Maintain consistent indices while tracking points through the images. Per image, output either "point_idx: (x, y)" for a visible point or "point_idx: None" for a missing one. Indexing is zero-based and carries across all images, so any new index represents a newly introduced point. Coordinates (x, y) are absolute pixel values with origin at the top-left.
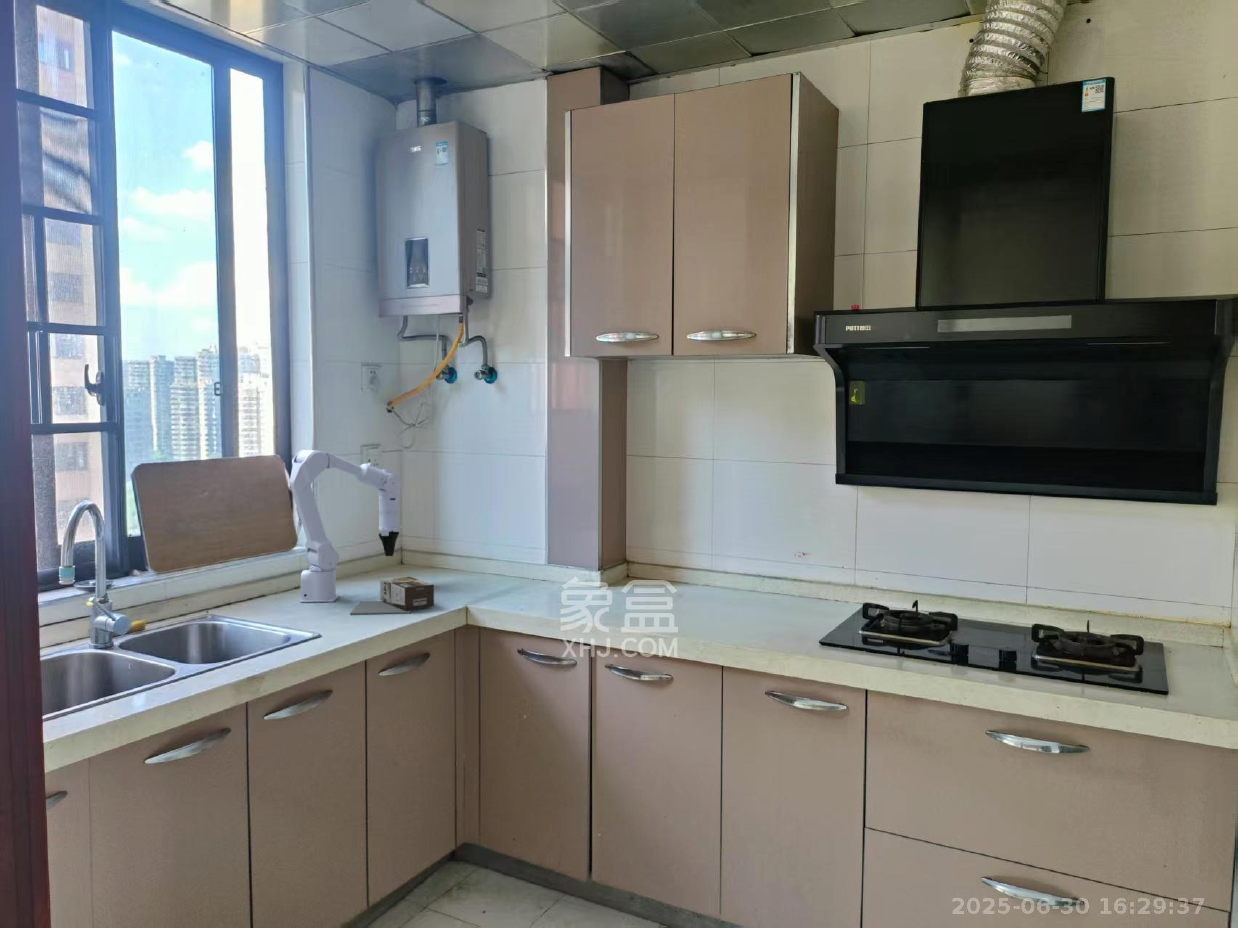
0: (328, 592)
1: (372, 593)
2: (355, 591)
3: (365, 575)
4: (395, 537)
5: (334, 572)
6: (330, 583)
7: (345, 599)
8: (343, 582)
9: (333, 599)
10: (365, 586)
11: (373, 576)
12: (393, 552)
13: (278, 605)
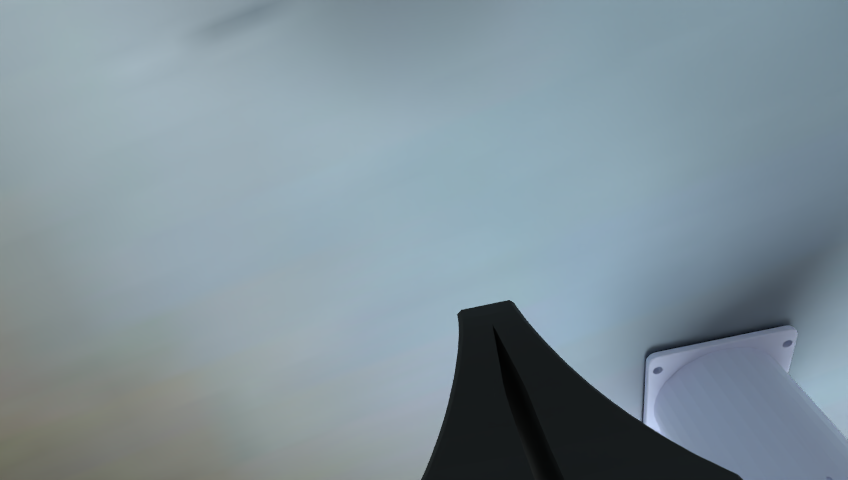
0: (797, 384)
1: (580, 223)
2: None
3: (50, 457)
4: (724, 472)
5: (837, 471)
6: (824, 419)
7: (731, 297)
8: (285, 469)
9: (781, 335)
10: (370, 338)
11: (56, 412)
12: (501, 322)
13: None
